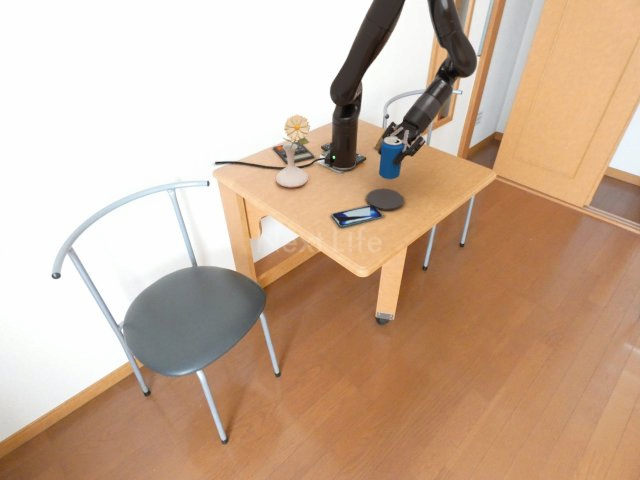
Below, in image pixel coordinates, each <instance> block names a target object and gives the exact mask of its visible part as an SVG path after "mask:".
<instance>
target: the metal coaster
mask: <svg viewBox="0 0 640 480" xmlns="http://www.w3.org/2000/svg"><path fill="white" fill-rule="evenodd" d="M366 202H367V204H368V206H369V205H371V206H372V207H374V208H376V209H378V211H380V212H393V211H397V210H399V209H400V208H402V207H403V204H404V197H403V195H402V194H401V193H400V192H398V191H396V190H393V189H390V188H377V189H374V190H371V191H370V192H369V193H367V195H366Z"/></svg>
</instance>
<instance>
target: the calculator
mask: <svg viewBox="0 0 640 480" xmlns="http://www.w3.org/2000/svg"><path fill="white" fill-rule="evenodd" d="M294 144H296V145H297V146H298V147H297V149H296V150H295V153H294V164H295V163H299V162H303V161H307V160H312V159H314V158H315V156H314V154H313V153H312V152H311V151H310V150H308V149H307V147H306V146H304V145H301V144H299V142H298V141H295V143H294ZM283 145H284V144H281V145H277V146H273V150H274V152H275V153H276V154H277V155H278V156H279V157H280V158H281V159H282V160H283V161H284V163H285V164H286V165H288V159H287V154H286V151H285V150H284V149H283Z"/></svg>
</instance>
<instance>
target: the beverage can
mask: <svg viewBox="0 0 640 480" xmlns="http://www.w3.org/2000/svg"><path fill="white" fill-rule="evenodd" d="M402 143H403V140H402V141H401V140H400V139H398V137H394V136H390V137H386V138H384V141H383V142H382V148H381V155H380V160H379V170H378V175H379V176H380V177H381V178H382V179H384V180H386V181H393V180H395V179H397V178H399V177H400V176H401V175H400V174H401V167H402V162H401V163H400V164H398V165H395V164H394V163H393V162H392V161H393V160H394V158H395V157H396V156H397V154H398V153H399V152H401V150H402V146H403V145H402Z"/></svg>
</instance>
